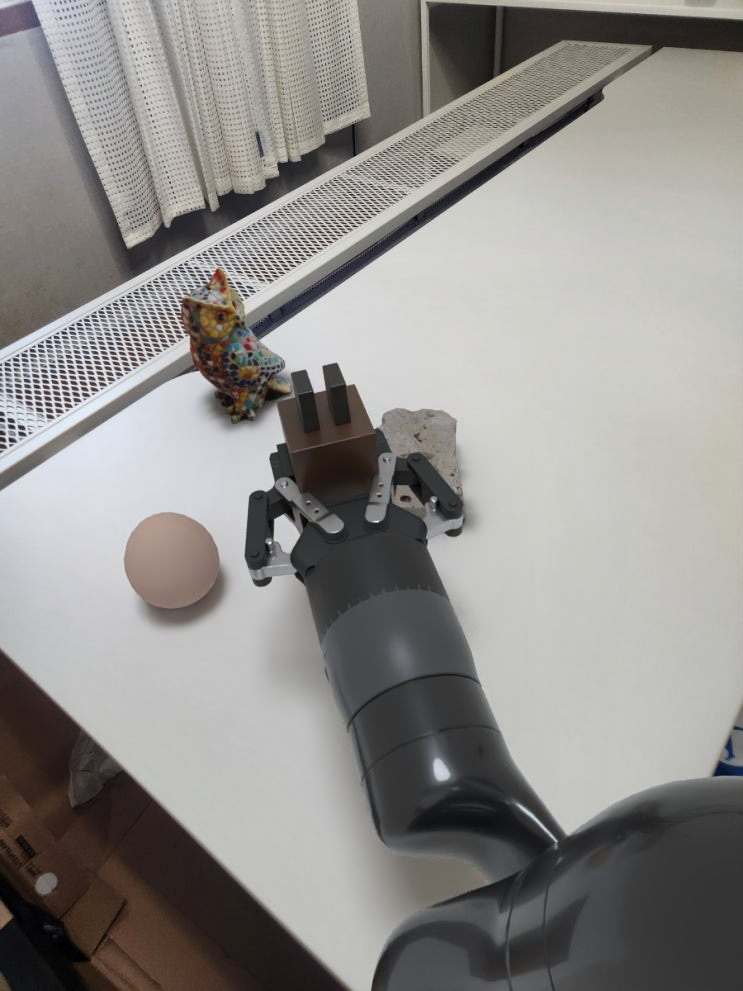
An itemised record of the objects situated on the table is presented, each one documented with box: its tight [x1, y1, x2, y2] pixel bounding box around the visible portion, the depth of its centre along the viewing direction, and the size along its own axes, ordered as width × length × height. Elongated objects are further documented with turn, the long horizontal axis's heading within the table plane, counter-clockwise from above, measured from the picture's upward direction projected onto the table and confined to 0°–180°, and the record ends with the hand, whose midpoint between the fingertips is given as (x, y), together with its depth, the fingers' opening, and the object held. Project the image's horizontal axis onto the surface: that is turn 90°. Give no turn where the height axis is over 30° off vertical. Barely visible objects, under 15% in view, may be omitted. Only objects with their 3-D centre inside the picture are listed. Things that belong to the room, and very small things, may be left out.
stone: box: [376, 407, 467, 520], centre depth 61 cm, size 13×6×10 cm
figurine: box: [180, 267, 292, 424], centre depth 68 cm, size 9×9×15 cm
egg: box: [123, 511, 221, 609], centre depth 53 cm, size 7×7×8 cm
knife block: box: [275, 362, 379, 504], centre depth 46 cm, size 5×5×14 cm
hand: (324, 443), depth 48 cm, fingers closed on knife block, 5 cm apart
